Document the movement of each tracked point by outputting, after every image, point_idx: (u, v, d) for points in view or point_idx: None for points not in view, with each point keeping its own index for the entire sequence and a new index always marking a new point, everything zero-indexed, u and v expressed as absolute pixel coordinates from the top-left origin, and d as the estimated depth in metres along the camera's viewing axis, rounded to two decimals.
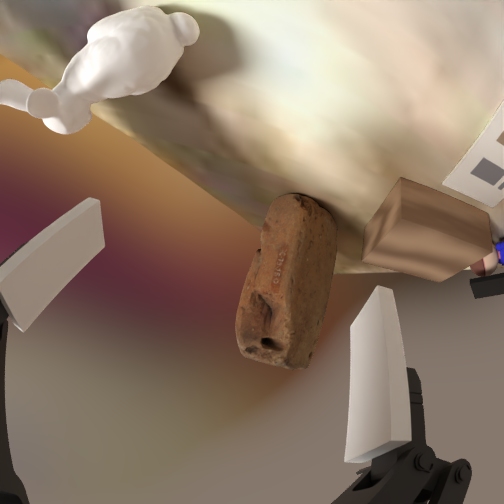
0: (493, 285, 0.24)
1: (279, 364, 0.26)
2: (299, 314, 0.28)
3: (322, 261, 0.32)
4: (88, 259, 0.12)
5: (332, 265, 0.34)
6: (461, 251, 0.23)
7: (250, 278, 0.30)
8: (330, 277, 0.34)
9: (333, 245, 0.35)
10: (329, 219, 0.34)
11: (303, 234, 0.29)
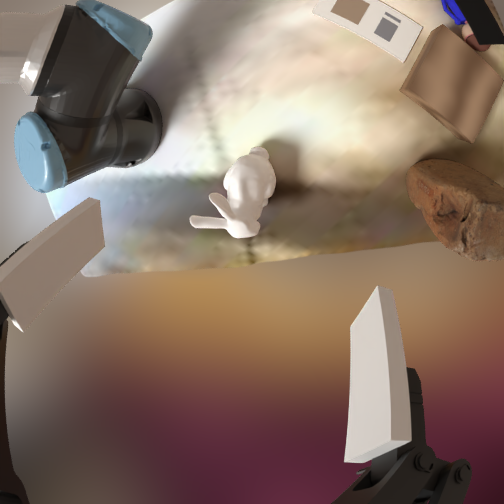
0: (479, 22, 0.15)
1: (481, 208, 0.18)
2: (459, 182, 0.22)
3: (452, 167, 0.27)
4: (88, 259, 0.12)
5: (468, 168, 0.27)
6: (447, 49, 0.21)
7: (428, 219, 0.27)
8: (473, 170, 0.25)
9: (456, 163, 0.29)
10: (437, 159, 0.32)
11: (419, 168, 0.30)
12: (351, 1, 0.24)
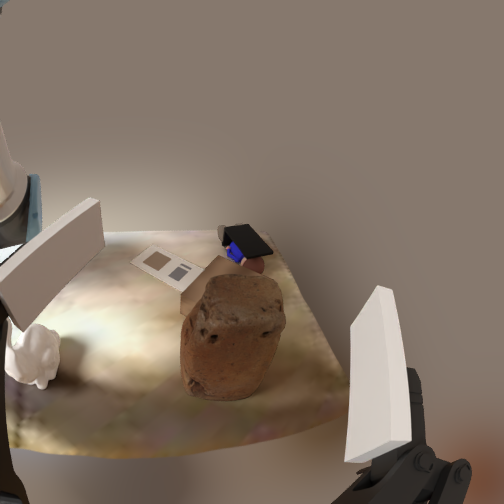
0: (248, 245, 0.56)
1: (212, 277, 0.28)
2: None
3: None
4: (88, 259, 0.12)
5: None
6: (219, 269, 0.51)
7: (185, 357, 0.29)
8: None
9: None
10: None
11: None
12: (159, 257, 0.57)
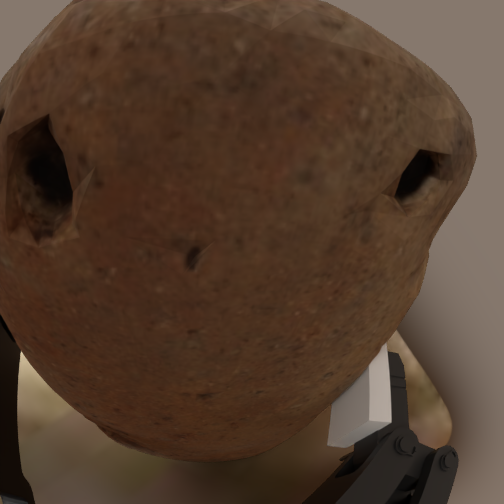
0: None
1: None
2: None
3: None
4: None
5: None
6: None
7: None
8: None
9: None
10: None
11: None
12: None
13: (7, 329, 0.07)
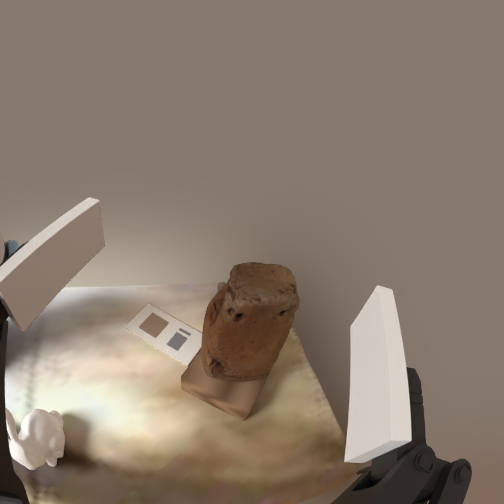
0: None
1: (235, 265, 0.33)
2: None
3: None
4: (88, 259, 0.12)
5: None
6: None
7: (210, 337, 0.33)
8: None
9: None
10: None
11: None
12: (156, 320, 0.52)
13: None
